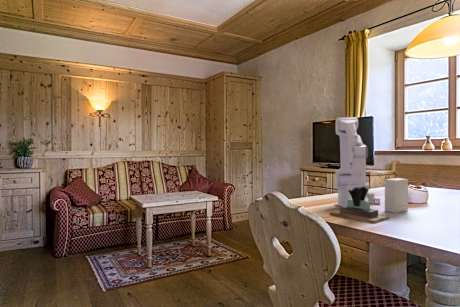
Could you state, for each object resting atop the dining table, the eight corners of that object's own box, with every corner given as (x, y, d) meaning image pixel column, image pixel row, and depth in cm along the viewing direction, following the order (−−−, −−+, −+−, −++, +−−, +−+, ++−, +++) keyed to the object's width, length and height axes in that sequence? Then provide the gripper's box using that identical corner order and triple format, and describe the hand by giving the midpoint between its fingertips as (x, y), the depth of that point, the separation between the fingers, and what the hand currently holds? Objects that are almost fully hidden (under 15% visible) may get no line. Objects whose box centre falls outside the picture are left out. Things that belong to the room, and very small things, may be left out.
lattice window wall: (380, 204, 159) (380, 192, 158) (379, 204, 157) (379, 193, 157) (356, 201, 166) (356, 190, 166) (355, 202, 165) (355, 191, 165)
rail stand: (345, 210, 144) (345, 203, 144) (388, 218, 128) (388, 210, 128) (329, 214, 137) (329, 206, 137) (373, 223, 121) (373, 214, 121)
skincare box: (397, 208, 147) (397, 177, 146) (408, 211, 141) (408, 178, 141) (383, 210, 144) (383, 178, 143) (394, 213, 138) (394, 179, 138)
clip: (350, 212, 137) (350, 198, 137) (370, 215, 130) (370, 201, 130) (347, 212, 136) (347, 199, 135) (366, 216, 128) (366, 202, 128)
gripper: (357, 175, 125) (357, 209, 125) (376, 173, 133) (376, 204, 134) (342, 174, 130) (342, 206, 131) (361, 172, 139) (360, 202, 139)
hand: (358, 205), depth 133 cm, fingers closed on clip, 2 cm apart
